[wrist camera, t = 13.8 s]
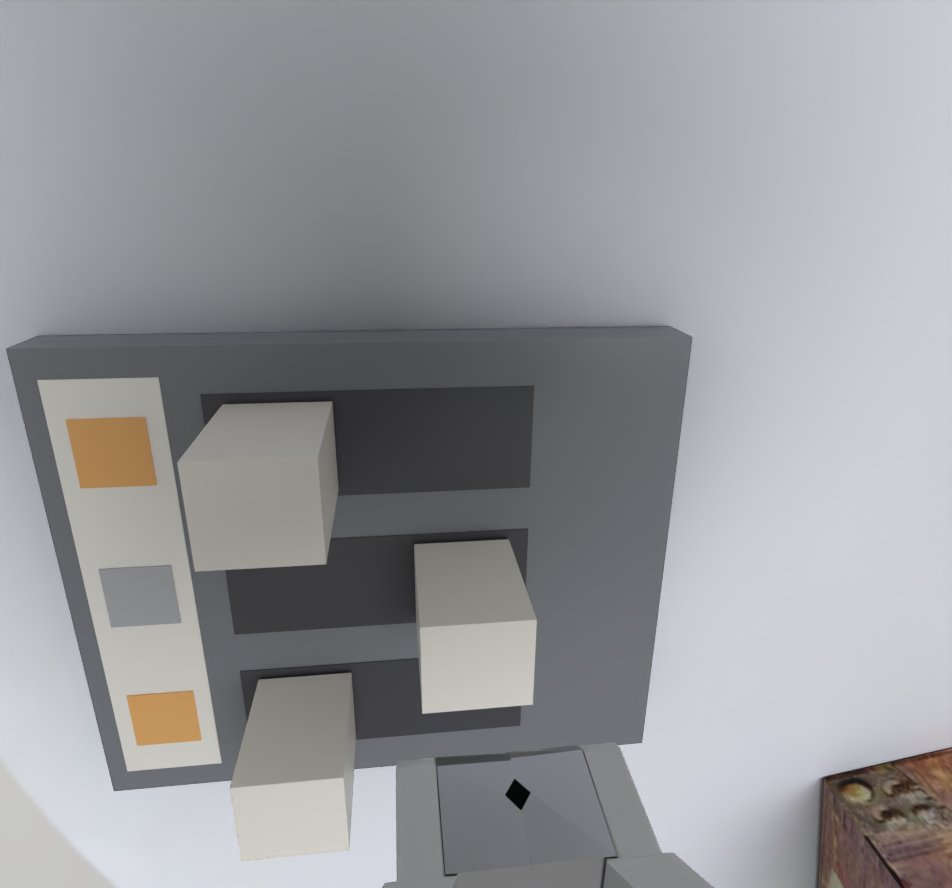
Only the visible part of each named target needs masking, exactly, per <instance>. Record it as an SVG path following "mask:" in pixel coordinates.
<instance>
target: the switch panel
mask: <svg viewBox="0 0 952 888" xmlns="http://www.w3.org/2000/svg"><path fill="white" fill-rule="evenodd" d="M691 344H692V337H691V336H689V335H687V334H685V333H683V332H681V331H679V330H677V329H675V328H672V327H670V326H646V327H579V328H513V329H447V330H380V331H314V332H247V333H181V334H115V335H48V336H36V337H33V338H31V339H29V340H26V341H24V342H21V343H19V344H16V345H14V346H12V347H9V348H7V349H6V350H7V355H8V359H9V363H10V367H11V371H12V375H13V379H14V383H15V387H16V391H17V396H18V400H19V404H20V408H21V412H22V416H23V420H24V424H25V428H26V433H27V437H28V441H29V445H30V449H31V453H32V457H33V461H34V465H35V469H36V474H37V478H38V482H39V486H40V490H41V494H42V498H43V502H44V506H45V511H46V515H47V519H48V523H49V527H50V531H51V535H52V539H53V543H54V547H55V552H56V556H57V560H58V564H59V568H60V572H61V576H62V580H63V584H64V588H65V593H66V597H67V601H68V605H69V609H70V613H71V617H72V621H73V625H74V630H75V634H76V638H77V642H78V646H79V650H80V654H81V658H82V662H83V666H84V671H85V675H86V679H87V683H88V687H89V691H90V695H91V699H92V703H93V707H94V712H95V716H96V720H97V724H98V728H99V732H100V736H101V740H102V744H103V749H104V753H105V757H106V761H107V765H108V769H109V773H110V777H111V781H112V785H113V790H114V791H121V790H132V789H143V788H154V787H165V786H176V785H186V784H197V783H208V782H219V781H230V780H232V778H233V774H234V770H235V766H236V763H237V759H238V755H239V751H240V748H241V744H242V740H243V736H244V733H245V729H246V725H247V721H248V718H249V714H250V710H251V706H252V702H253V699H254V695H255V691H256V687H257V684H258V680H260V679H273V678H286V677H300V676H313V675H327V674H340V673H351V674H352V688H353V702H354V716H355V730H356V745H355V762H354V769H361V768H372V767H383V766H394V765H397V760H410V759H425V758H434V759H436V757H450V756H467V755H484V754H501V753H507V752H512V751H522V750H533V749H543V748H553V747H563V746H573V745H576V746H579V745H589V744H600V743H611V742H615V743H616V744H617V745H624V744H634V743H642V738H643V730H644V722H645V714H646V706H647V698H648V690H649V682H650V674H651V666H652V658H653V650H654V642H655V634H656V626H657V618H658V609H659V601H660V593H661V585H662V577H663V569H664V561H665V553H666V545H667V537H668V529H669V521H670V513H671V505H672V497H673V489H674V481H675V472H676V464H677V456H678V448H679V440H680V432H681V424H682V416H683V408H684V400H685V392H686V384H687V376H688V368H689V360H690V352H691ZM328 401H332V403H333V417H334V431H335V445H336V460H337V474H338V488H339V490H338V496H337V502H336V508H335V514H334V520H333V526H332V533H331V539H330V545H329V551H328V557H327V563H326V564H324V565H306V566H288V567H270V568H252V569H234V570H216V571H198V572H195V570H194V564H193V558H192V551H191V545H190V539H189V533H188V527H187V520H186V514H185V508H184V502H183V496H182V489H181V483H180V477H179V471H178V465H177V462H178V461H179V459H180V458H181V457H182V456H183V454H184V453H185V452H186V450H187V449H188V448H189V447H190V445H191V444H192V443H193V442H194V440H195V439H196V438H197V436H198V435H199V434H200V433H201V431H202V430H203V429H204V427H205V426H206V425H207V424H208V422H209V421H210V420H211V418H212V417H213V416H214V415H215V413H216V412H217V411H218V409H219V408H220V407H221V406H222V404H254V403H291V402H328ZM504 539H509V541H510V544H511V547H512V550H513V552H514V555H515V558H516V561H517V564H518V567H519V570H520V573H521V575H522V578H523V581H524V584H525V587H526V590H527V593H528V596H529V598H530V601H531V604H532V607H533V610H534V613H535V616H536V619H537V628H536V649H535V670H534V690H533V705H523V706H511V707H499V708H487V709H475V710H463V711H450V712H438V713H426V714H422V701H421V686H420V671H419V656H418V641H417V625H416V599H415V562H414V544H428V543H447V542H466V541H485V540H504Z"/></svg>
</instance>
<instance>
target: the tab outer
mask: <svg viewBox="0 0 952 888" xmlns="http://www.w3.org/2000/svg"><path fill="white" fill-rule="evenodd" d="M355 745H356V730H355V716H354V702H353V688H352V674H351V673H340V674H327V675H313V676H300V677H286V678H273V679H260V680H258V684H257V687H256V691H255V695H254V699H253V702H252V706H251V710H250V714H249V718H248V721H247V725H246V729H245V733H244V736H243V740H242V744H241V748H240V751H239V755H238V759H237V763H236V766H235V770H234V774H233V778H232V782H231V785H230V793H231V799H232V805H233V812H234V818H235V824H236V830H237V836H238V842H239V849H240V855H241V861H250V860H259V859H269V858H278V857H288V856H297V855H307V854H316V853H326V852H335V851H345V850H349V847H350V830H351V813H352V796H353V779H354V762H355Z"/></svg>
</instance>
